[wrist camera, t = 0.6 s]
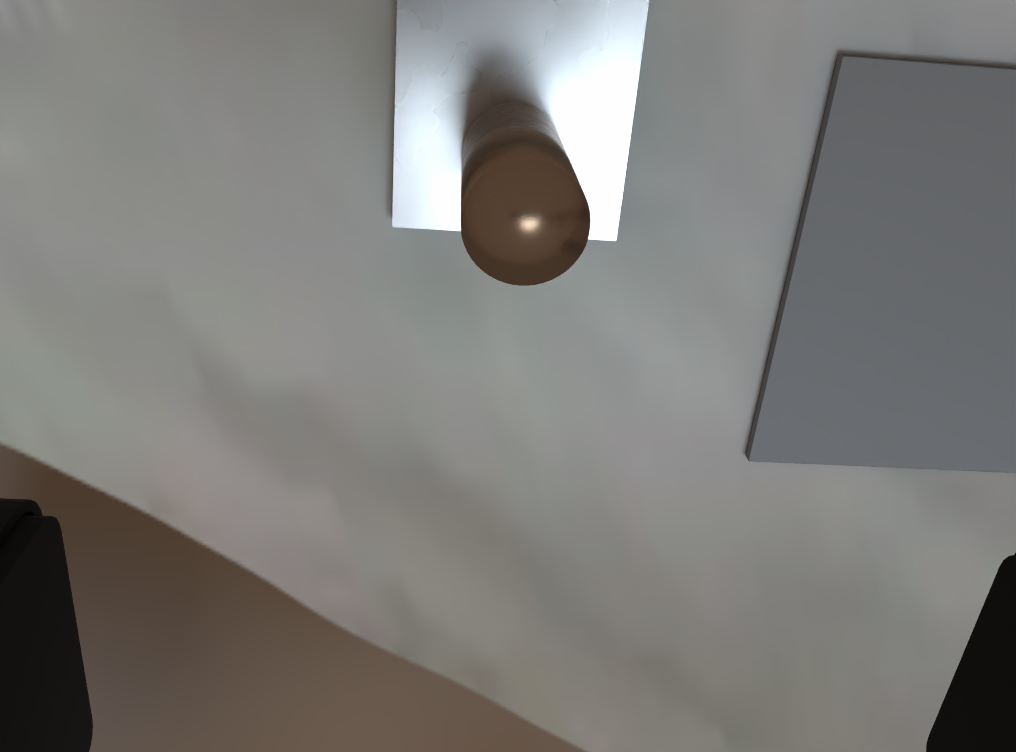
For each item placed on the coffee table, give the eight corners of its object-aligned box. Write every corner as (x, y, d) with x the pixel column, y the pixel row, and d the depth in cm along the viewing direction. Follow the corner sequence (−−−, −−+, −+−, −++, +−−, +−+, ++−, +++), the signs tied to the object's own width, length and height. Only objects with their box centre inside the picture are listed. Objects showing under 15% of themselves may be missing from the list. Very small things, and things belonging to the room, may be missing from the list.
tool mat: (1186, 82, 28) (1195, 84, 27) (1031, 468, 34) (1037, 473, 34) (838, 54, 27) (843, 56, 26) (745, 455, 33) (748, 461, 33)
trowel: (658, -120, 25) (737, -135, 18) (611, 230, 29) (658, 331, 22) (402, -144, 24) (376, -169, 17) (394, 217, 29) (371, 316, 22)
